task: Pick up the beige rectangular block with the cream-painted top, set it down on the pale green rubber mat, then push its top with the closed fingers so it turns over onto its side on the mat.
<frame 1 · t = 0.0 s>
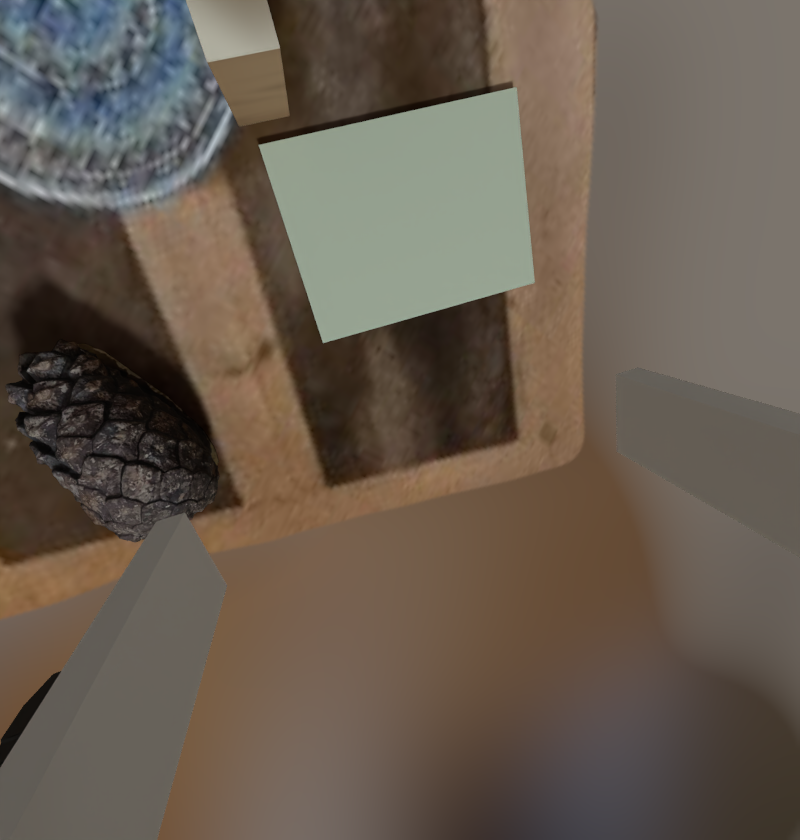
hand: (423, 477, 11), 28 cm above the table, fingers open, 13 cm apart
beige rectangular block: (247, 65, 28), on the table
mat: (412, 223, 35), on the table
pine cone: (138, 426, 36), on the table
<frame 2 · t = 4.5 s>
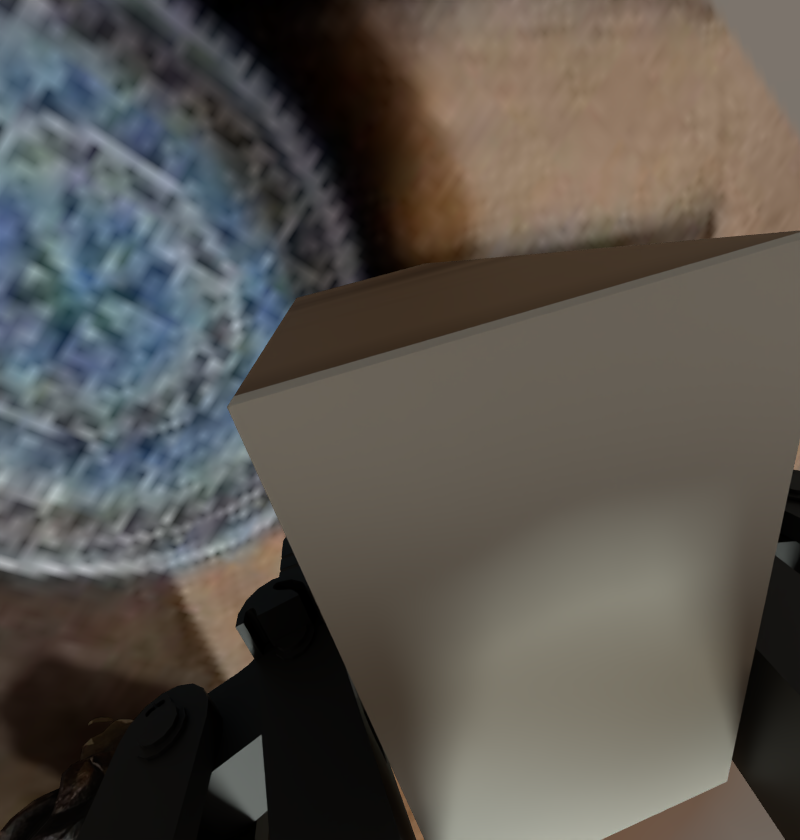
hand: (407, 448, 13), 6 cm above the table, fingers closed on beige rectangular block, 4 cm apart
beige rectangular block: (390, 388, 13), point 6 cm above the table, touching gripper
pine cone: (181, 784, 25), on the table
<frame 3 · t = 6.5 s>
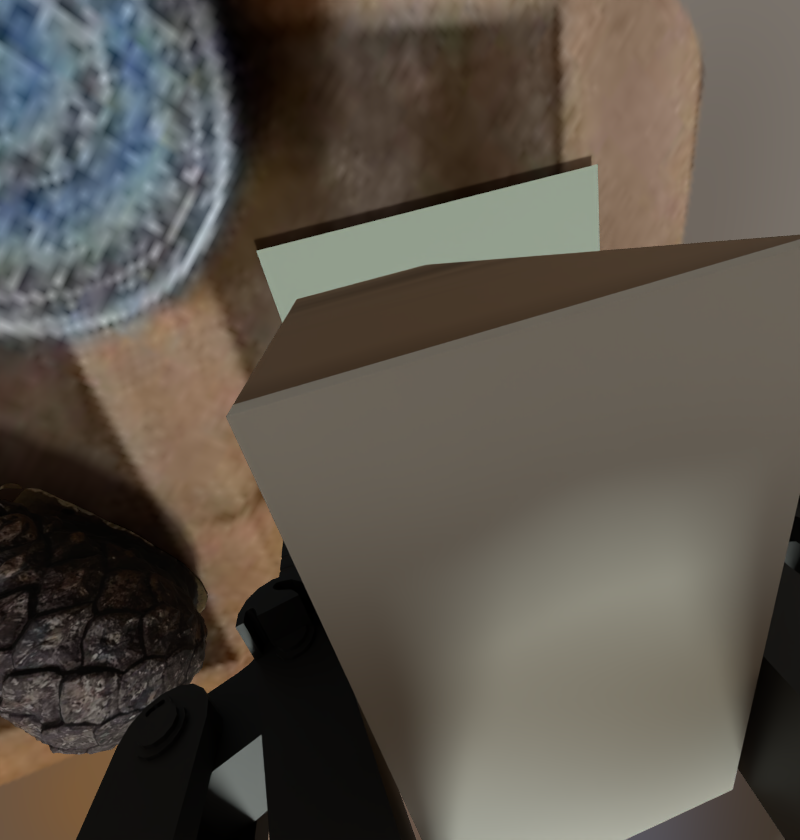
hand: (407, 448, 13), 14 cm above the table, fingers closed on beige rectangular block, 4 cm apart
beige rectangular block: (390, 389, 13), point 14 cm above the table, touching gripper
mat: (455, 332, 27), on the table
pine cone: (99, 569, 28), on the table
when the fingers open (1 cm above the table, at t = 8.9 s): beige rectangular block stays where it is, resting on mat.
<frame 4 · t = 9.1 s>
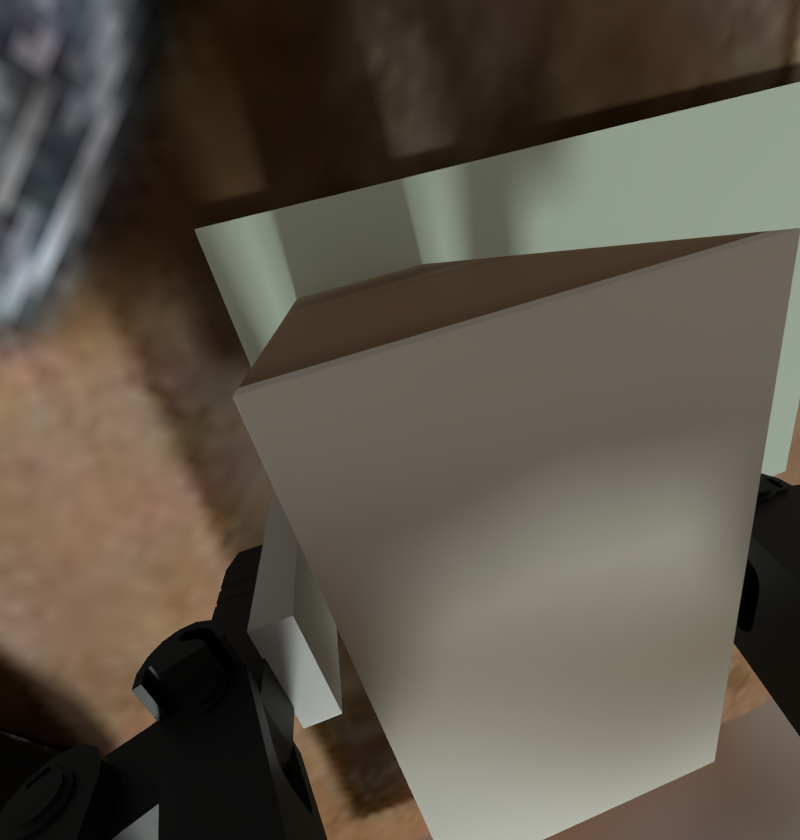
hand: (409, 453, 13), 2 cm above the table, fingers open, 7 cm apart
beige rectangular block: (389, 386, 13), point 1 cm above the table, touching mat
mat: (567, 381, 15), on the table
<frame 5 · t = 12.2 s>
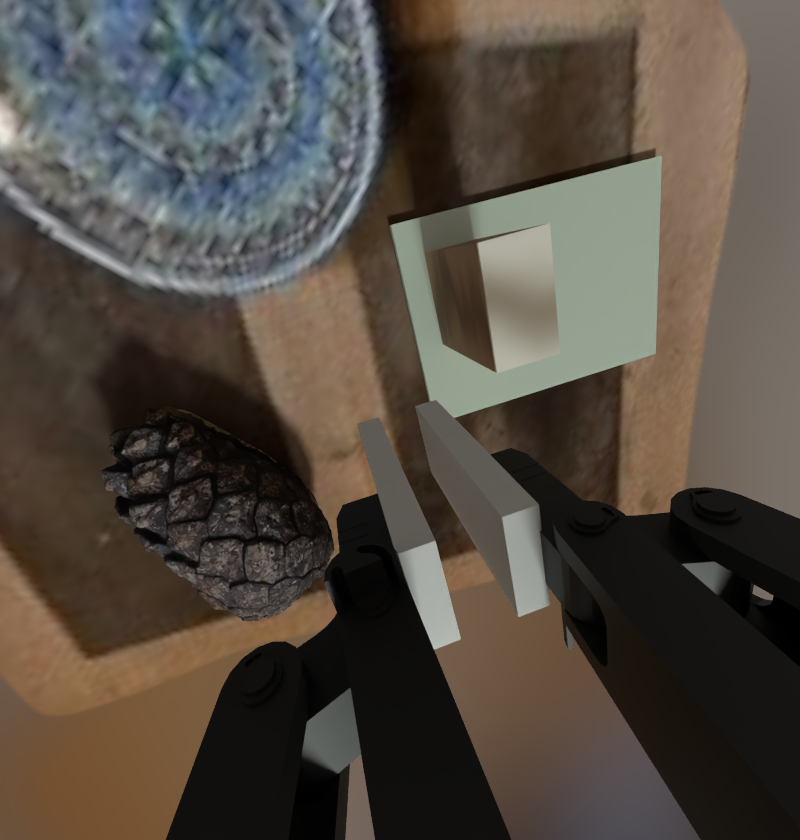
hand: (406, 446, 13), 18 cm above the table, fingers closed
beige rectangular block: (457, 293, 30), point 1 cm above the table, touching mat
mat: (537, 297, 32), on the table
pine cone: (232, 486, 32), on the table
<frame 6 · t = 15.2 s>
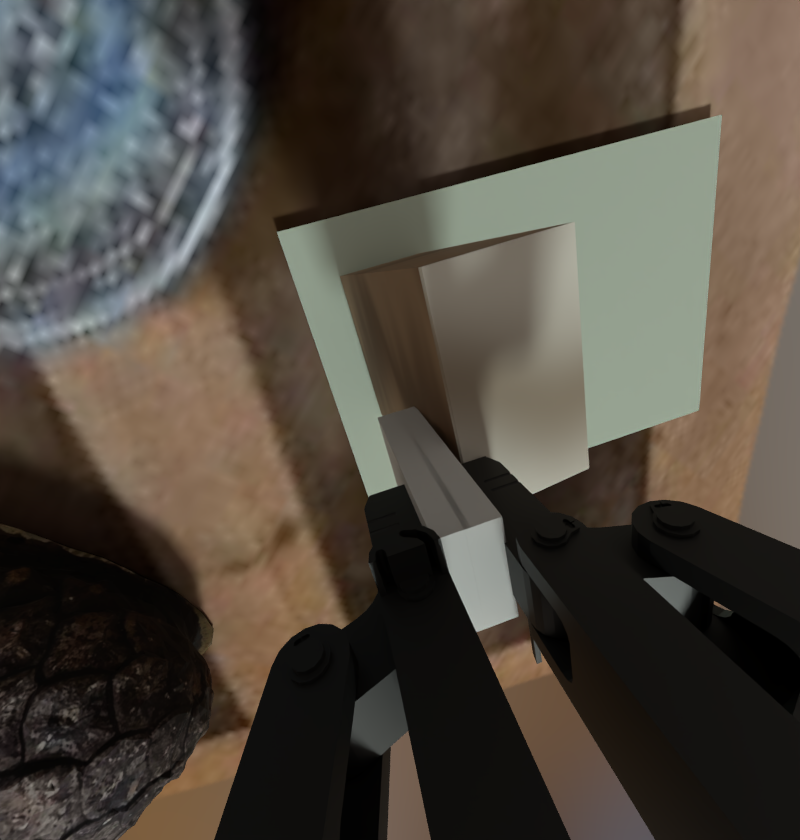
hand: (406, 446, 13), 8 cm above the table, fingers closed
beige rectangular block: (399, 338, 19), point 1 cm above the table, tilted 7°, touching gripper, mat
mat: (524, 337, 21), on the table
pine cone: (73, 607, 22), on the table
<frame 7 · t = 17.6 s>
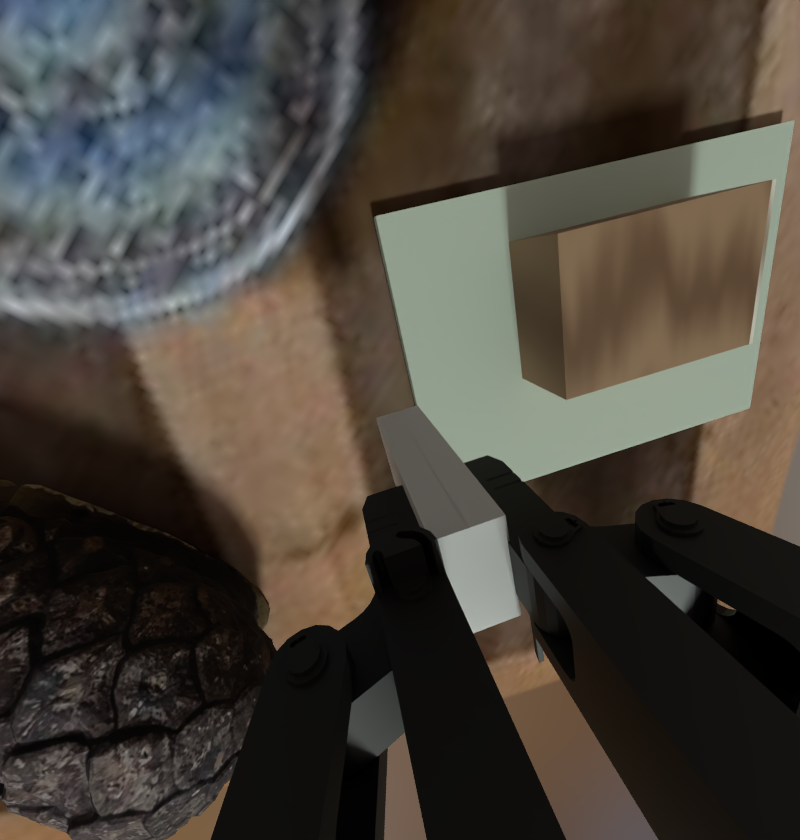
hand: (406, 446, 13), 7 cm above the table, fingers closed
beige rectangular block: (536, 319, 18), point 3 cm above the table, tilted 90°, touching mat
mat: (593, 330, 22), on the table
pine cone: (131, 585, 21), on the table
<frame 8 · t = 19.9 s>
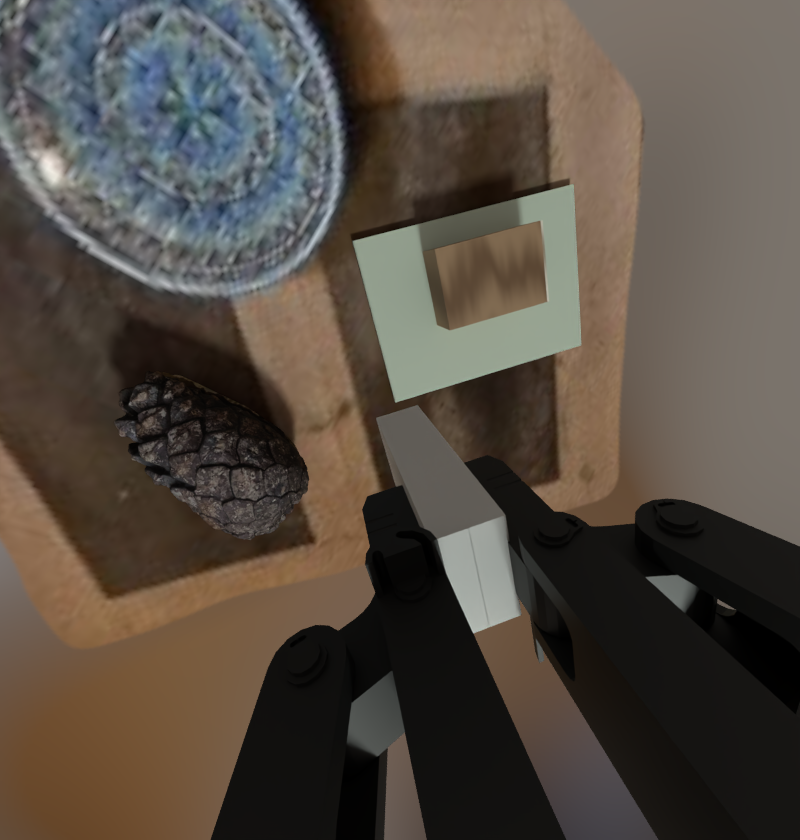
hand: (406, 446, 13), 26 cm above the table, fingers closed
beige rectangular block: (436, 290, 35), point 3 cm above the table, tilted 90°, touching mat
mat: (477, 298, 39), on the table
pine cone: (224, 438, 39), on the table
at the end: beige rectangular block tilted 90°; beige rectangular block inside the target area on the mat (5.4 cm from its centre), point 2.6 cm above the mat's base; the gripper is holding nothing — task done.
